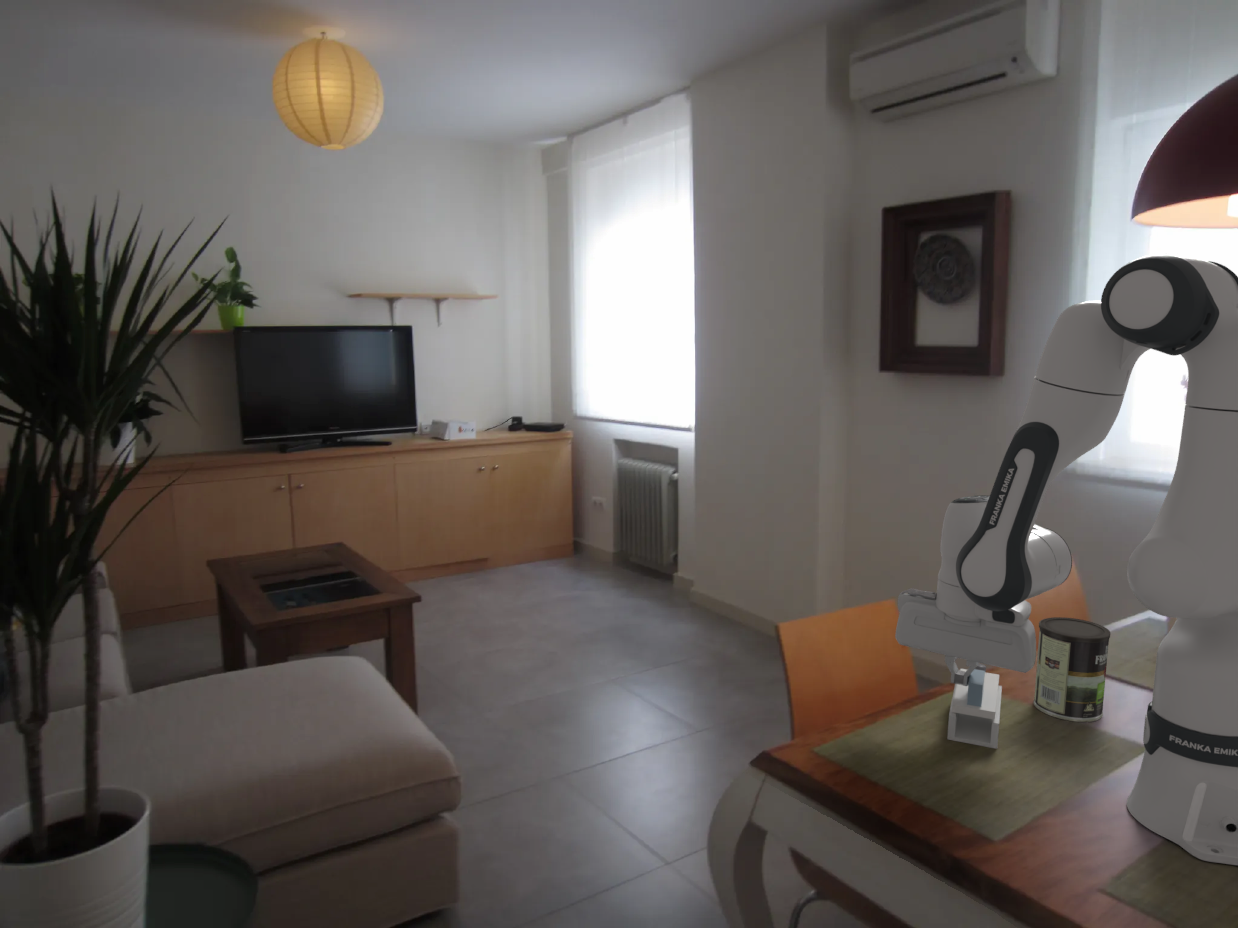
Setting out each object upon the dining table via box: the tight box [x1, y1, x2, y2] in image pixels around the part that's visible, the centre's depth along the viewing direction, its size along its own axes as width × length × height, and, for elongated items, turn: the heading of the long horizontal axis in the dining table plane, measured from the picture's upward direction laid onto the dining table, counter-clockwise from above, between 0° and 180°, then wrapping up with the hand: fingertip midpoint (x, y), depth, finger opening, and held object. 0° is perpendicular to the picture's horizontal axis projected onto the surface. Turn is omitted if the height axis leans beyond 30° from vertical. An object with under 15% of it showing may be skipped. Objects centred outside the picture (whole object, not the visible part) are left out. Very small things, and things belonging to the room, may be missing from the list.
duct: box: [947, 683, 1003, 750], centre depth 135 cm, size 7×15×4 cm, turn 155°
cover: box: [952, 663, 1000, 720], centre depth 136 cm, size 6×17×9 cm, turn 154°
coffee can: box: [1033, 617, 1111, 723], centre depth 140 cm, size 10×10×14 cm
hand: (960, 683), depth 133 cm, fingers closed
